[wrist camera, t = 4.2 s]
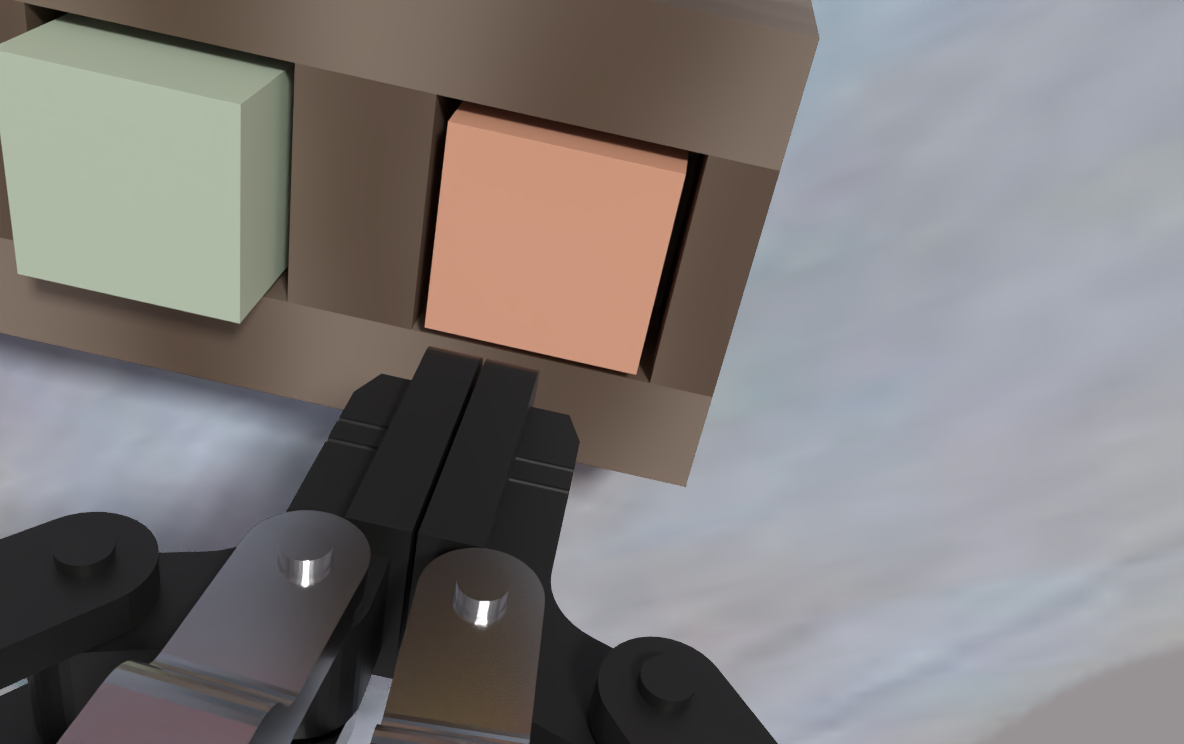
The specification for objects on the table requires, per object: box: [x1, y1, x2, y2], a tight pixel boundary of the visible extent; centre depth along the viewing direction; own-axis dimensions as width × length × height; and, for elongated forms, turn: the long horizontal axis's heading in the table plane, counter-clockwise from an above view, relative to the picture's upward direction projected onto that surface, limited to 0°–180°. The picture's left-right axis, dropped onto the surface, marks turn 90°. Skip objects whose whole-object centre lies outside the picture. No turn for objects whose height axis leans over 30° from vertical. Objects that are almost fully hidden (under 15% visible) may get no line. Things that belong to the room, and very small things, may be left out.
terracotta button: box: [425, 100, 689, 375], centre depth 20 cm, size 4×4×3 cm
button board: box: [0, 0, 819, 487], centre depth 20 cm, size 21×9×4 cm, turn 80°
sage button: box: [0, 13, 295, 324], centre depth 19 cm, size 4×4×3 cm
